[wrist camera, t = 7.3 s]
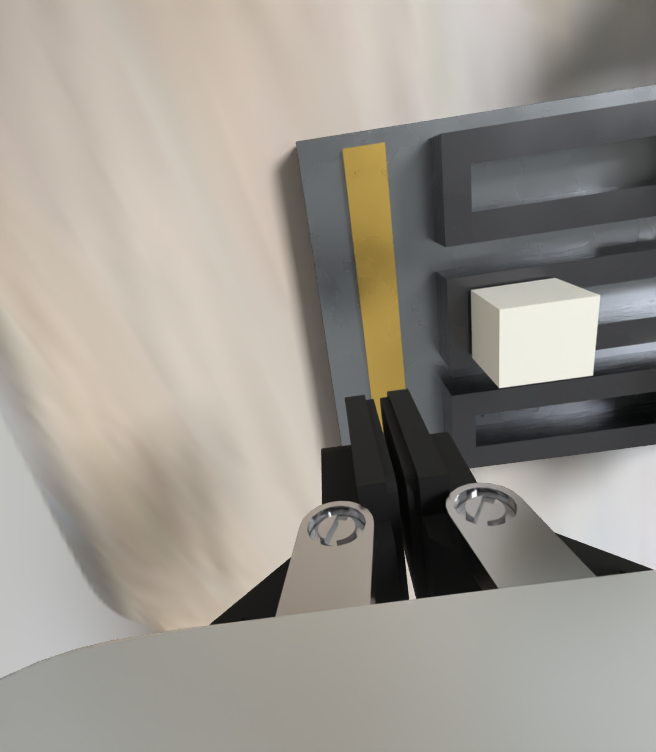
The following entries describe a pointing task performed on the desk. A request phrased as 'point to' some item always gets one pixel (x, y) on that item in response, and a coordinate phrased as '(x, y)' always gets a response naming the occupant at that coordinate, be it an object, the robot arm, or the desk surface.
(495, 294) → the handle
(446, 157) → the breaker panel
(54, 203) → the desk surface
